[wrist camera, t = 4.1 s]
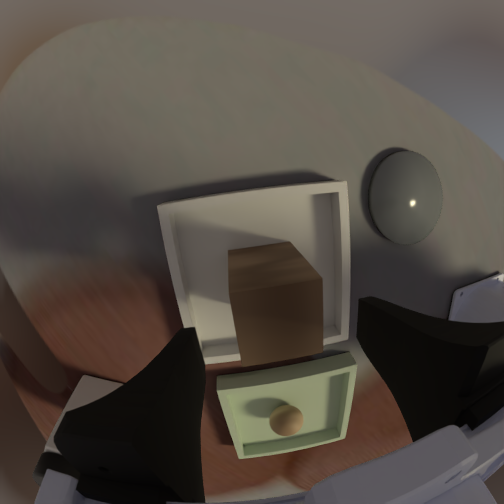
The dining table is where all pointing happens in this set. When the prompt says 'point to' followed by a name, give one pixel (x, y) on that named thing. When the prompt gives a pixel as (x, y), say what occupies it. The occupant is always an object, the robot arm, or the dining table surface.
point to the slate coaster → (405, 197)
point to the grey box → (249, 235)
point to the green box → (288, 393)
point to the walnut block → (275, 303)
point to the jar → (81, 396)
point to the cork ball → (286, 420)
